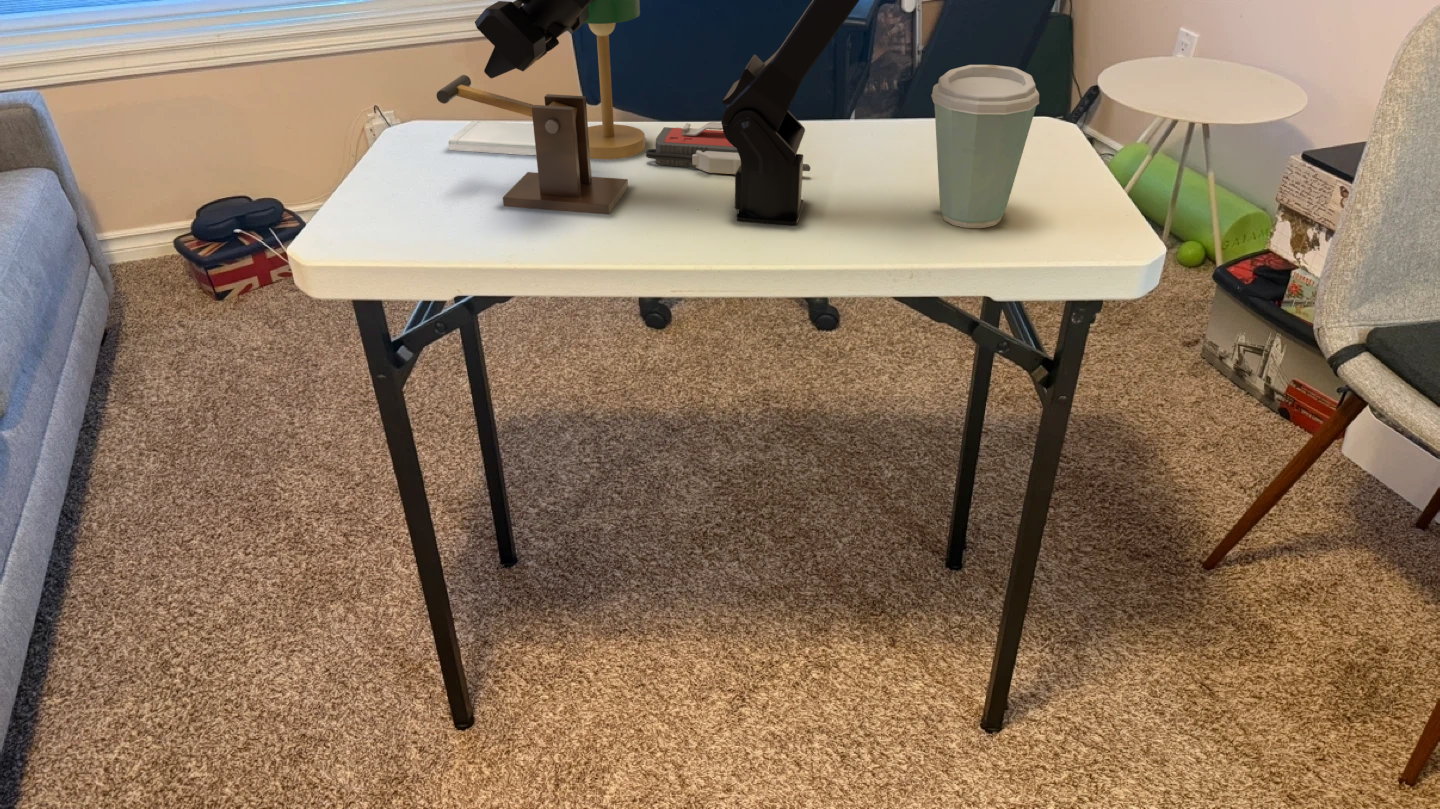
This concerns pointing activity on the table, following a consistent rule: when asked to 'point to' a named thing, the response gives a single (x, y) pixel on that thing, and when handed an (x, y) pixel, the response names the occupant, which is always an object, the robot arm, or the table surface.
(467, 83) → the switch lever
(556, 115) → the switch bracket
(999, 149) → the disposable coffee cup
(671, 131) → the red boxy piece
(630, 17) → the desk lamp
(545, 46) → the robot arm
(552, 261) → the table surface
